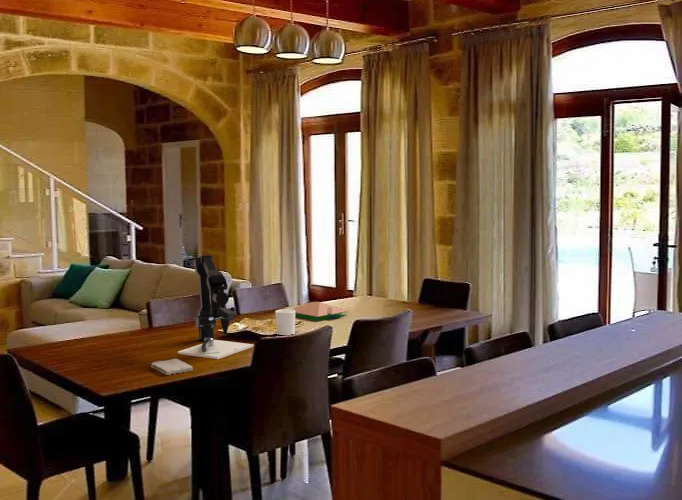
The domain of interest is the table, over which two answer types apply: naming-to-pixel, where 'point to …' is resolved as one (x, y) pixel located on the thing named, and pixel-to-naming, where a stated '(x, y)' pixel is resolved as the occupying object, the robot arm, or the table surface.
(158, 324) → the table surface
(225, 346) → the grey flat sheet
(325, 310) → the house
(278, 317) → the candle holder
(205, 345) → the tuner lever
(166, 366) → the washcloth
